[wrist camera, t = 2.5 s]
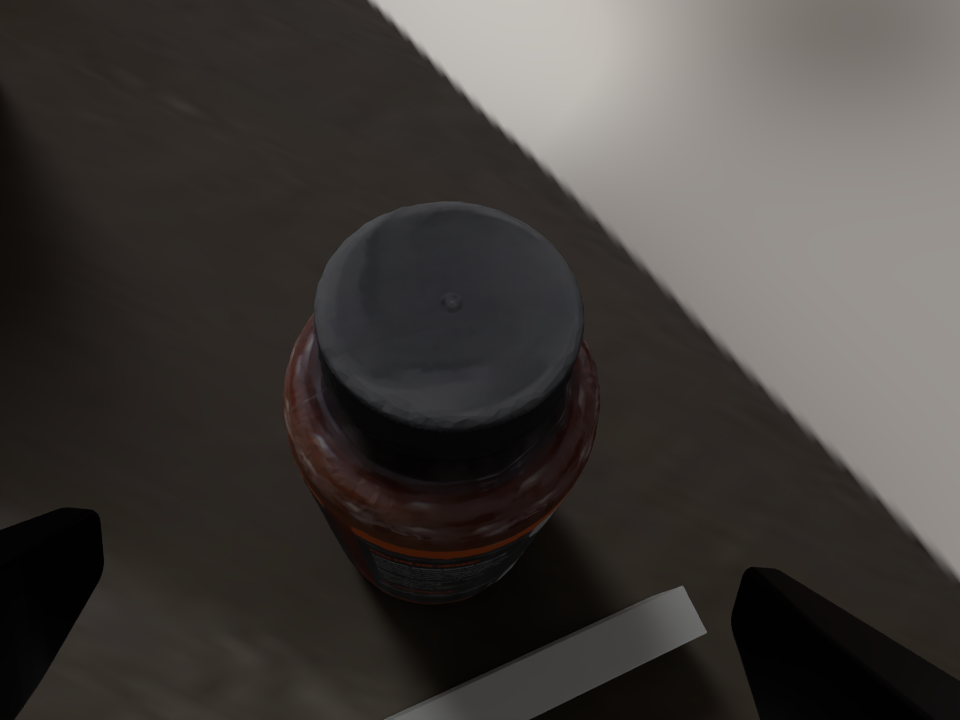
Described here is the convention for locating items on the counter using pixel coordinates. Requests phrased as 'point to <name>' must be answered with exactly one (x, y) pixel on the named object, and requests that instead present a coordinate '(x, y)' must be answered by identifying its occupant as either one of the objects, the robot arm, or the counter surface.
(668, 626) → the grey rectangular bar
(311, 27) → the counter surface
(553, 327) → the supplement bottle
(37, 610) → the robot arm
